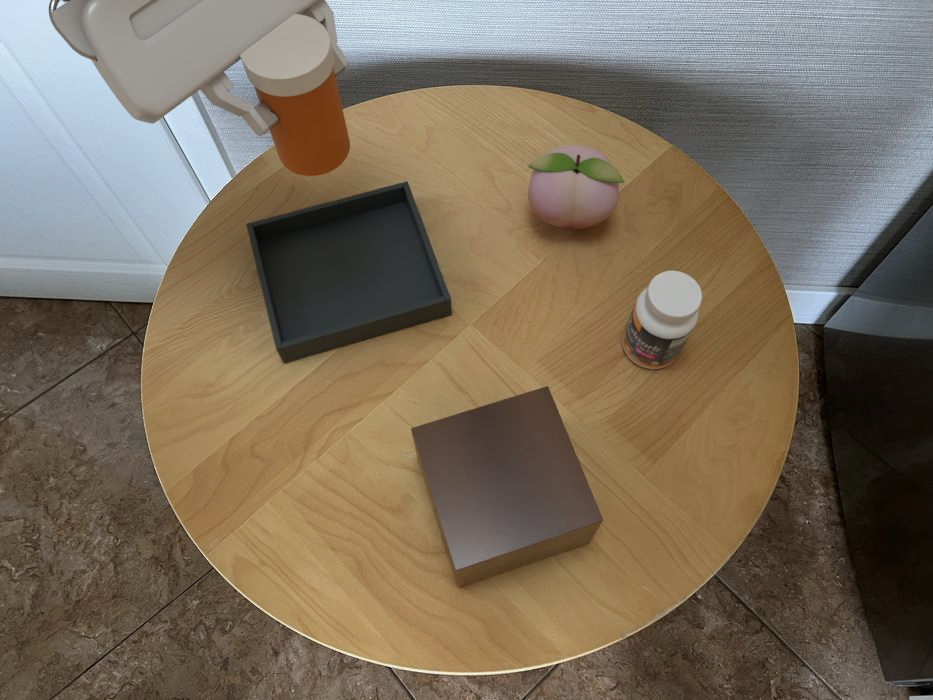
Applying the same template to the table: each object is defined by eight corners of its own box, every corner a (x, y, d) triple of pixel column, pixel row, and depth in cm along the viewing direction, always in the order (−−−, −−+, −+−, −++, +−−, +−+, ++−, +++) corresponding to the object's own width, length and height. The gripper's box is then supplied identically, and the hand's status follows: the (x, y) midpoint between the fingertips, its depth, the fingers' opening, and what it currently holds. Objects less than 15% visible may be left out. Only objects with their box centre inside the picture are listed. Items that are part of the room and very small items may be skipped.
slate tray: (283, 363, 73) (276, 349, 71) (253, 240, 80) (245, 223, 77) (452, 314, 76) (451, 299, 73) (409, 199, 82) (407, 180, 79)
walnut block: (457, 588, 64) (455, 570, 57) (417, 459, 69) (410, 428, 62) (589, 543, 65) (603, 520, 58) (540, 420, 70) (547, 385, 63)
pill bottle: (609, 343, 74) (627, 290, 65) (648, 309, 76) (671, 253, 67) (652, 382, 72) (677, 334, 63) (692, 346, 74) (721, 294, 65)
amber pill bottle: (284, 187, 57) (248, 87, 48) (268, 129, 60) (231, 25, 51) (361, 167, 58) (339, 65, 49) (342, 110, 60) (318, 4, 51)
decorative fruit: (610, 188, 83) (627, 122, 74) (612, 250, 79) (629, 189, 70) (524, 184, 83) (530, 118, 74) (522, 245, 79) (528, 184, 70)
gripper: (32, -17, 42) (204, 186, 48) (299, -184, 49) (421, 12, 54) (28, 14, 47) (183, 193, 53) (269, -141, 54) (384, 34, 60)
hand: (306, 100), depth 54 cm, fingers closed on amber pill bottle, 5 cm apart
